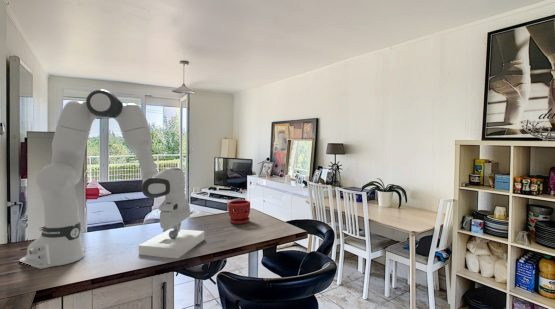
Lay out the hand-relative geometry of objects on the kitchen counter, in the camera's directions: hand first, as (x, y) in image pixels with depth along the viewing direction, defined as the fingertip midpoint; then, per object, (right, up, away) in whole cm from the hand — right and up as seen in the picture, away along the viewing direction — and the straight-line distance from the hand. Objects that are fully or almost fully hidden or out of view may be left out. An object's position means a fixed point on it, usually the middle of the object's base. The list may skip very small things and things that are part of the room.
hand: (177, 232), depth 135 cm
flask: (-11, -5, +22) cm, 26 cm away
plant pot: (+23, -4, +39) cm, 46 cm away
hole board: (-1, -6, -1) cm, 6 cm away
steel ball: (-1, 0, -3) cm, 3 cm away
